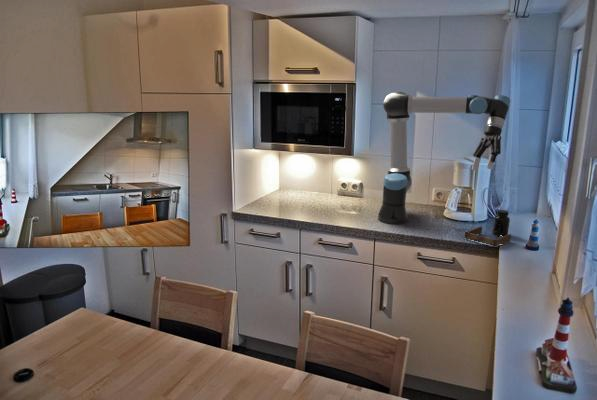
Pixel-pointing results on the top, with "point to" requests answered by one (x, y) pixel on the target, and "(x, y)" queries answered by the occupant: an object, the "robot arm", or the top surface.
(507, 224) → the supplement bottle
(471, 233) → the walnut bay
